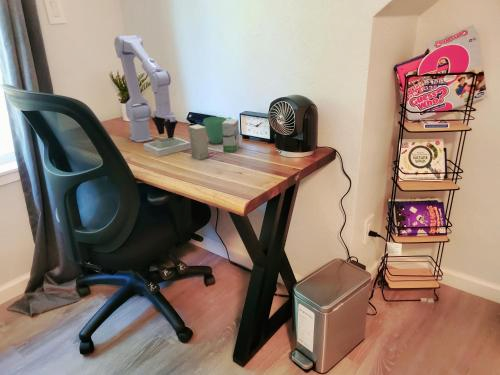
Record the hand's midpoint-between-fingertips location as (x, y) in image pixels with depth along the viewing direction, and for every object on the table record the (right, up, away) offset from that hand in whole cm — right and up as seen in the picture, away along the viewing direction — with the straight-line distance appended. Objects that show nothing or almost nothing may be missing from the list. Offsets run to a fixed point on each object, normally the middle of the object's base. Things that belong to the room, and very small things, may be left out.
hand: (166, 135), depth 161 cm
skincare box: (+15, -9, -8) cm, 19 cm away
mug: (+22, -1, +12) cm, 24 cm away
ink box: (+27, -6, 0) cm, 28 cm away
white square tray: (0, -5, +2) cm, 6 cm away
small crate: (0, -5, +2) cm, 5 cm away
